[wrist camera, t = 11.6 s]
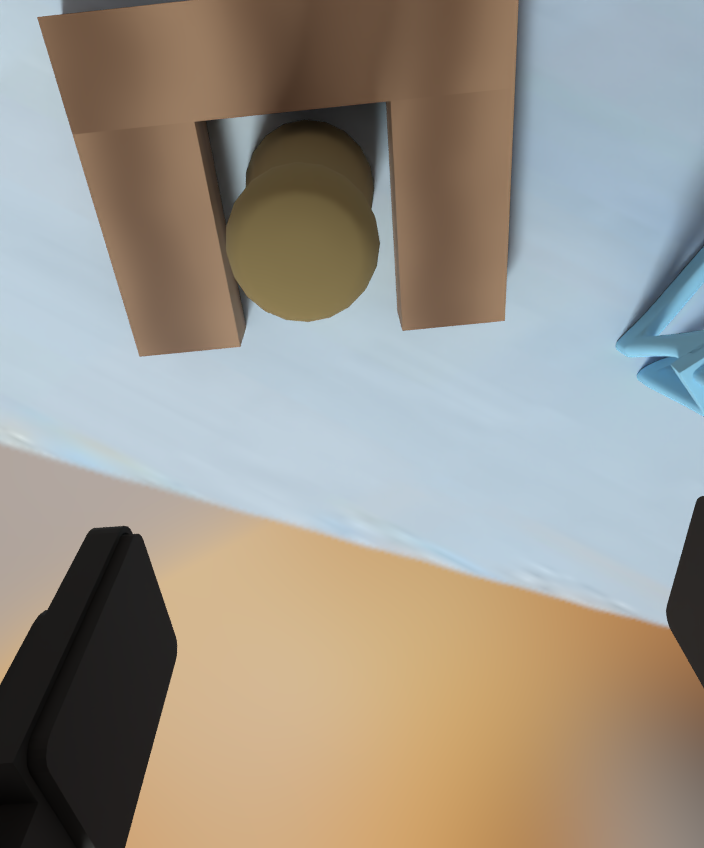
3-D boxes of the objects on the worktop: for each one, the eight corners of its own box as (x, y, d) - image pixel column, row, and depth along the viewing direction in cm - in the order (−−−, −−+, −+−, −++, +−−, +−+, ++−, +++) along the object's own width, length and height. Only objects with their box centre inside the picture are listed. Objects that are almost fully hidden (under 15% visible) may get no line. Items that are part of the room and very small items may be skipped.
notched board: (503, -29, 25) (519, -36, 22) (492, 302, 32) (504, 320, 30) (61, 19, 25) (37, 17, 23) (152, 336, 32) (139, 356, 30)
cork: (222, 150, 28) (168, 202, 18) (347, 97, 27) (357, 124, 17) (277, 272, 31) (255, 370, 21) (390, 228, 30) (420, 311, 20)
